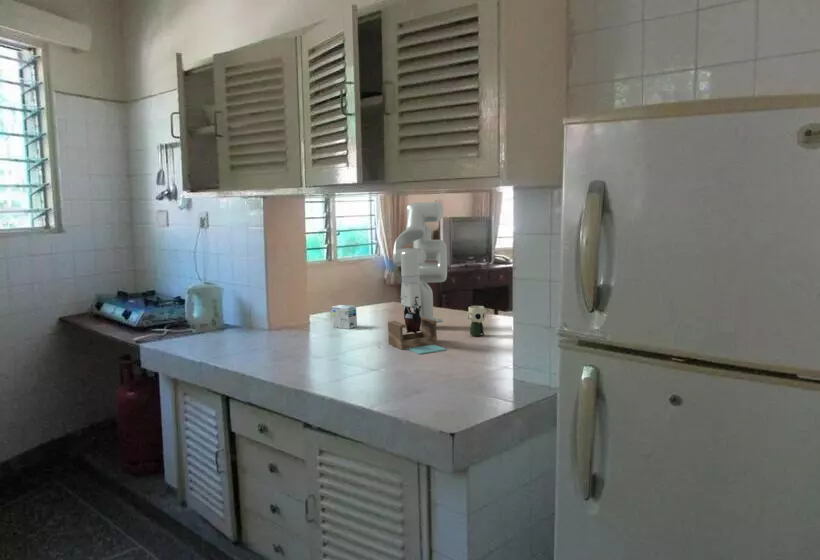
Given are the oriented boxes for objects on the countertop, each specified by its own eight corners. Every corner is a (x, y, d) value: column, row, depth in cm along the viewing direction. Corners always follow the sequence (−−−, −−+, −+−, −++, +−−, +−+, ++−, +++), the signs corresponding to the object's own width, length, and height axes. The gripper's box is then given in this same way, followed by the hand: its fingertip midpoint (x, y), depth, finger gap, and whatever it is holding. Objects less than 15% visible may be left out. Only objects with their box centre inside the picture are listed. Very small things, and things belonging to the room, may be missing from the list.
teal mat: (433, 345, 268) (433, 344, 268) (445, 350, 260) (445, 348, 259) (408, 349, 263) (408, 348, 263) (419, 354, 254) (419, 352, 254)
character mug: (473, 338, 280) (472, 309, 279) (462, 336, 286) (461, 307, 284) (491, 335, 286) (491, 306, 285) (480, 332, 292) (480, 304, 291)
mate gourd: (424, 332, 271) (423, 297, 269) (407, 334, 268) (405, 299, 266) (417, 329, 278) (416, 295, 276) (400, 331, 275) (399, 296, 273)
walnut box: (423, 339, 282) (422, 317, 281) (436, 344, 271) (436, 321, 270) (388, 344, 274) (387, 321, 273) (400, 349, 264) (400, 325, 263)
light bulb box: (357, 327, 316) (356, 305, 315) (349, 329, 311) (348, 307, 309) (340, 325, 322) (339, 304, 321) (332, 327, 316) (331, 306, 315)
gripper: (393, 278, 276) (395, 318, 278) (412, 282, 260) (413, 325, 263) (409, 276, 279) (410, 316, 282) (428, 281, 264) (429, 323, 266)
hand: (412, 320), depth 272 cm, fingers closed on mate gourd, 7 cm apart
